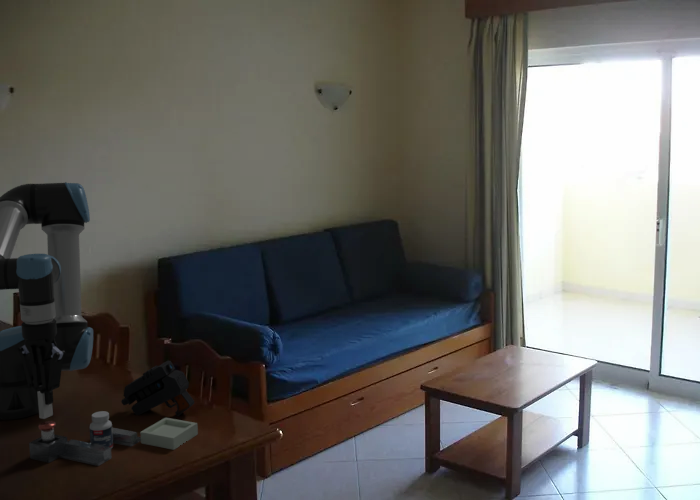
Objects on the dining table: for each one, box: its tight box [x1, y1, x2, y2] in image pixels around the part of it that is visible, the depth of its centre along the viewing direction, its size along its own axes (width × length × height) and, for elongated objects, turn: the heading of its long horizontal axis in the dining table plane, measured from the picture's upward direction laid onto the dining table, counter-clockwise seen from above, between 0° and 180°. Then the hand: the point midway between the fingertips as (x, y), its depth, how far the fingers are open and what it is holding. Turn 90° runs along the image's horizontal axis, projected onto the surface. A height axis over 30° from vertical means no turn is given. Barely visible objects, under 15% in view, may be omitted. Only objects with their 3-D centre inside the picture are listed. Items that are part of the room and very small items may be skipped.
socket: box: [58, 427, 141, 467], centre depth 177 cm, size 12×16×3 cm
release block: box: [28, 433, 69, 464], centre depth 173 cm, size 6×6×4 cm
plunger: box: [38, 420, 57, 444], centre depth 173 cm, size 4×4×6 cm
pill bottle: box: [89, 410, 114, 450], centre depth 176 cm, size 5×5×9 cm
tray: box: [139, 417, 199, 451], centre depth 182 cm, size 10×10×3 cm
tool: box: [120, 360, 195, 417], centre depth 199 cm, size 6×19×15 cm, turn 78°
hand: (46, 416), depth 172 cm, fingers closed
